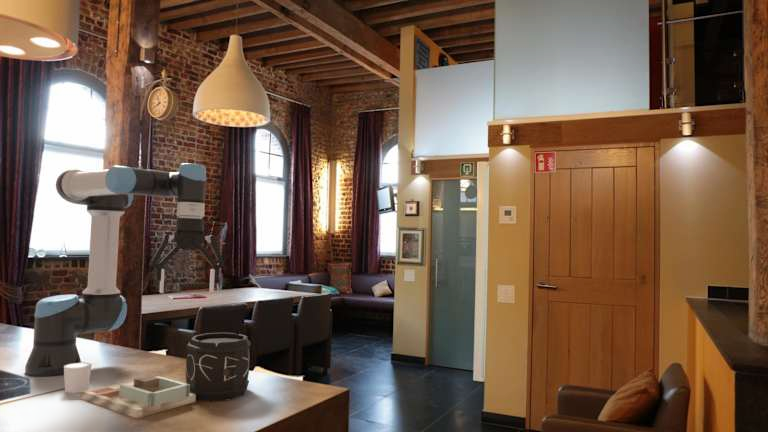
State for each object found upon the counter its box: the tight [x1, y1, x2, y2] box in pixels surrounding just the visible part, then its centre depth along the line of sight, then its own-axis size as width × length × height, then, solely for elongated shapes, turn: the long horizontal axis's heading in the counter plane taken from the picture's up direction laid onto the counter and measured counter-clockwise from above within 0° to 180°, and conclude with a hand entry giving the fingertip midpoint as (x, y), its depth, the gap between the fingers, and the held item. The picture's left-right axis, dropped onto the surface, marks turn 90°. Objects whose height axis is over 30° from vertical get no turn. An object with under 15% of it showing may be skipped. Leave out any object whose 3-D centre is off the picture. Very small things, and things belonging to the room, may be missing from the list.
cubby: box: [119, 375, 190, 407], centre depth 143 cm, size 14×12×3 cm
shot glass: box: [63, 362, 92, 394], centre depth 153 cm, size 7×7×7 cm
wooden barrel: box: [185, 332, 251, 402], centre depth 155 cm, size 18×18×16 cm
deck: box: [80, 379, 197, 419], centre depth 146 cm, size 25×17×2 cm
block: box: [133, 374, 159, 392], centre depth 145 cm, size 4×4×4 cm
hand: (186, 292), depth 155 cm, fingers open, 13 cm apart
